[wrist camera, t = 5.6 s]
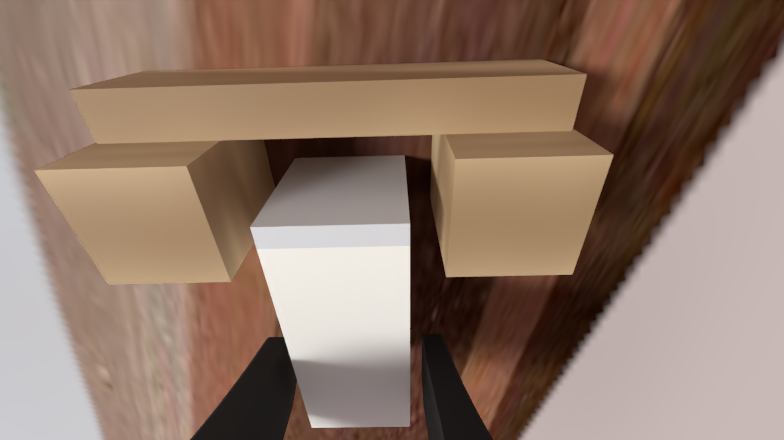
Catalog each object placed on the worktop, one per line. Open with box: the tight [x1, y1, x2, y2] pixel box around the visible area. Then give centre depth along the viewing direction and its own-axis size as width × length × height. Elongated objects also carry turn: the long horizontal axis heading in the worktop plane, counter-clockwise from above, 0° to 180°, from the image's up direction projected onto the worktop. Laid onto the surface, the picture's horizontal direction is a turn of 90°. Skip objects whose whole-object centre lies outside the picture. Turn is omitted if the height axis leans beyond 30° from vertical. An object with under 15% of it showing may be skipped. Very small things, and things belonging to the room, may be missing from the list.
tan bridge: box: [34, 59, 614, 284], centre depth 9 cm, size 4×11×4 cm, turn 91°
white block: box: [250, 155, 410, 428], centre depth 11 cm, size 9×4×4 cm, turn 2°
